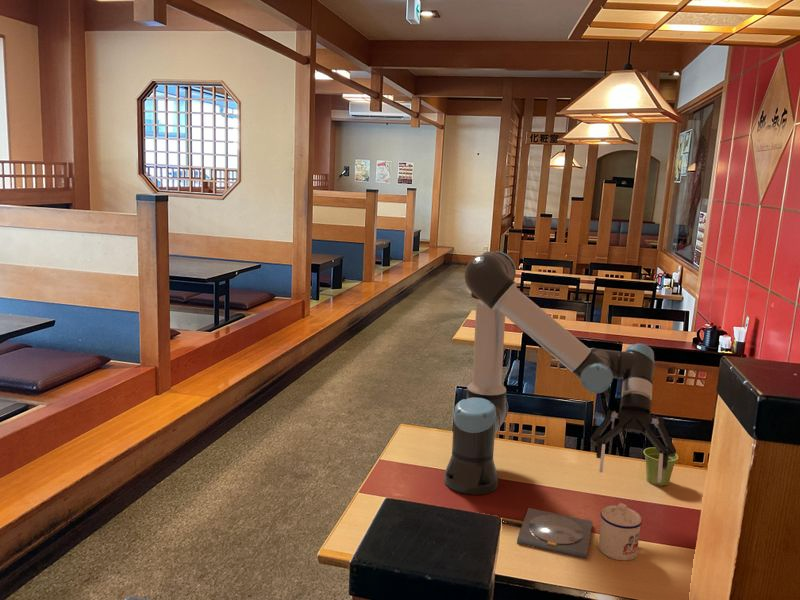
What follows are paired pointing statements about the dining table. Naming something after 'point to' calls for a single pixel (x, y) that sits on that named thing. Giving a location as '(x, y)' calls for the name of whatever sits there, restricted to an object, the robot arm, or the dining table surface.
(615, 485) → the dining table surface
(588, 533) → the cup warmer plate
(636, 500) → the dining table surface
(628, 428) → the robot arm
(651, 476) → the plant pot
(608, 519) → the teacup with lid
